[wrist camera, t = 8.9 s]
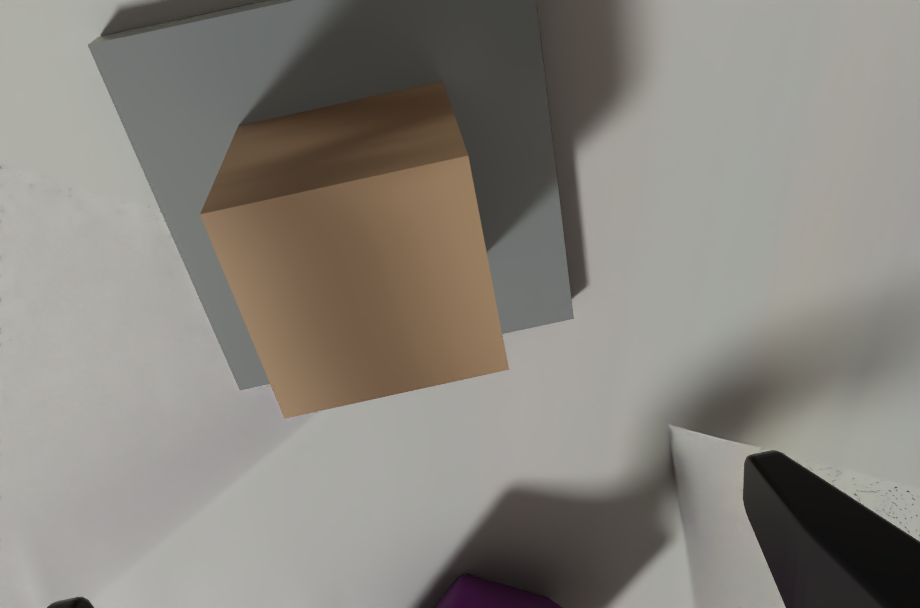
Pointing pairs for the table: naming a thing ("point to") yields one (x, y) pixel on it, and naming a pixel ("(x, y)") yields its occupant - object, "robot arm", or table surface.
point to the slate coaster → (338, 81)
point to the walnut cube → (357, 250)
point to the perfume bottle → (490, 596)
